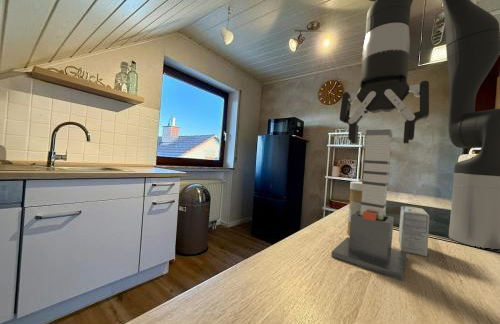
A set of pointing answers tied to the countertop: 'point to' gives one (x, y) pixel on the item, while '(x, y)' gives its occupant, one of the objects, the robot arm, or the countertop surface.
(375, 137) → the column
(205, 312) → the countertop surface
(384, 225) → the stand base
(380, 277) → the countertop surface
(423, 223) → the medicine box
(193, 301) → the countertop surface
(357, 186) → the sprinkles bottle
